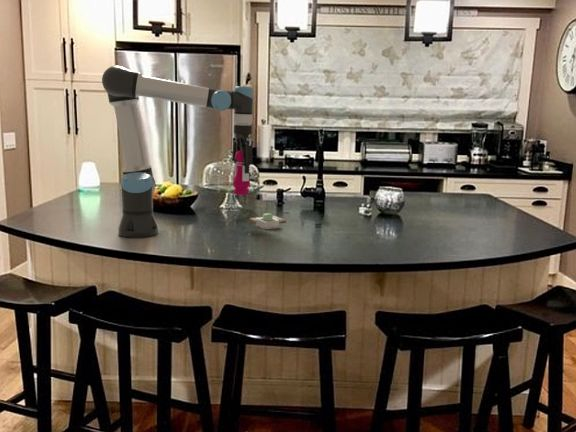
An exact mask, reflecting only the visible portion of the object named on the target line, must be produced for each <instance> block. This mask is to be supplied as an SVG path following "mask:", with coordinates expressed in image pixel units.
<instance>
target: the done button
mask: <svg viewBox="0 0 576 432" xmlns="http://www.w3.org/2000/svg"><path fill="white" fill-rule="evenodd" d="M272 216H273V213H269V212H266V213H263V214H262V217H263V221H265V222H266V221H272Z"/></svg>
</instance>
